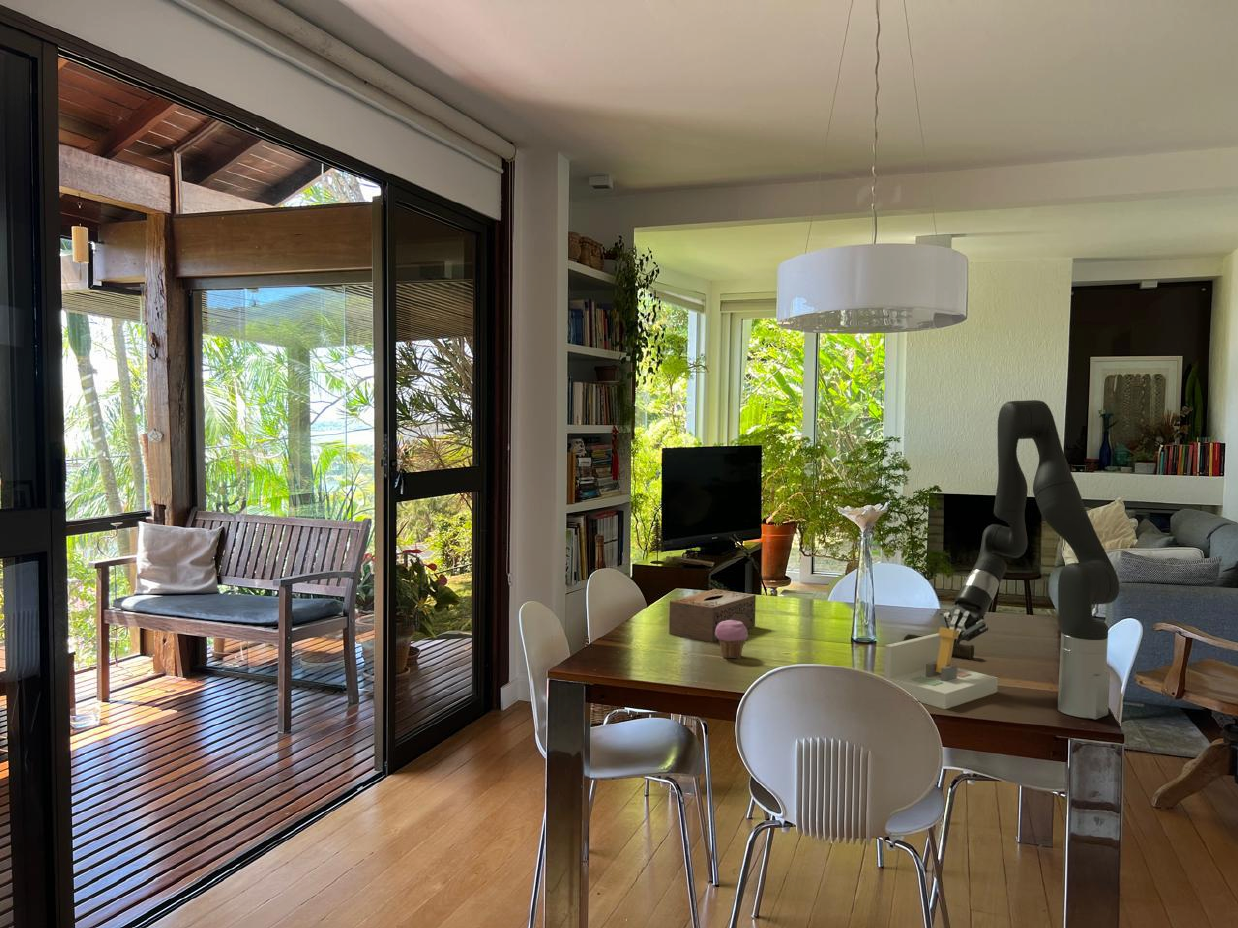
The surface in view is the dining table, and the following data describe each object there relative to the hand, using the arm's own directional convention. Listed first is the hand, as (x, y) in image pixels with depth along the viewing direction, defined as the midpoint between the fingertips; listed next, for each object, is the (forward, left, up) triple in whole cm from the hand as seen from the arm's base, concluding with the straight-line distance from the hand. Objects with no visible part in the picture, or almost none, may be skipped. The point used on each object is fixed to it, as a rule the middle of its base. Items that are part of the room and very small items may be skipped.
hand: (947, 650), depth 220 cm
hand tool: (+20, -28, -10) cm, 36 cm away
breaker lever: (0, +3, -6) cm, 6 cm away
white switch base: (0, +3, -9) cm, 10 cm away
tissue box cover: (+76, +3, -10) cm, 76 cm away
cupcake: (+51, +21, -9) cm, 56 cm away
